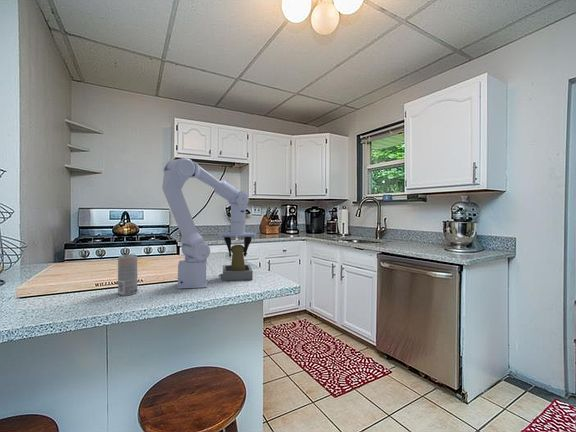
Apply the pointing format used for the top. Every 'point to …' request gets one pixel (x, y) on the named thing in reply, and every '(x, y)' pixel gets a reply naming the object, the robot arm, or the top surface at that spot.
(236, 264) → the cork
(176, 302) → the top surface
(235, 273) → the box
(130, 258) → the energy drink
